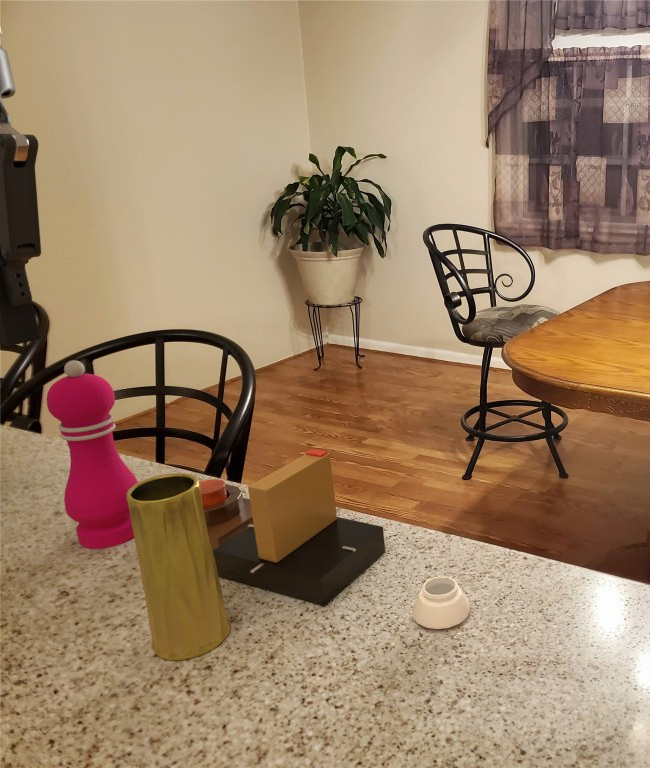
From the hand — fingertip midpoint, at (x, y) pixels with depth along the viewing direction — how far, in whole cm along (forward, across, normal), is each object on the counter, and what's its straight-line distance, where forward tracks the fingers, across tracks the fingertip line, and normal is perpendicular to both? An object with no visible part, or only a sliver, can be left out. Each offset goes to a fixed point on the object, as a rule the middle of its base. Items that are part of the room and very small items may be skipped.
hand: (19, 341), depth 59 cm
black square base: (+24, -18, -11) cm, 32 cm away
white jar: (+25, -35, -9) cm, 44 cm away
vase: (+25, -17, +2) cm, 30 cm away
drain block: (+24, -4, -13) cm, 28 cm away
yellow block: (+21, -18, -11) cm, 30 cm away
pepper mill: (+25, +6, -8) cm, 27 cm away
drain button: (+21, -4, -13) cm, 25 cm away
